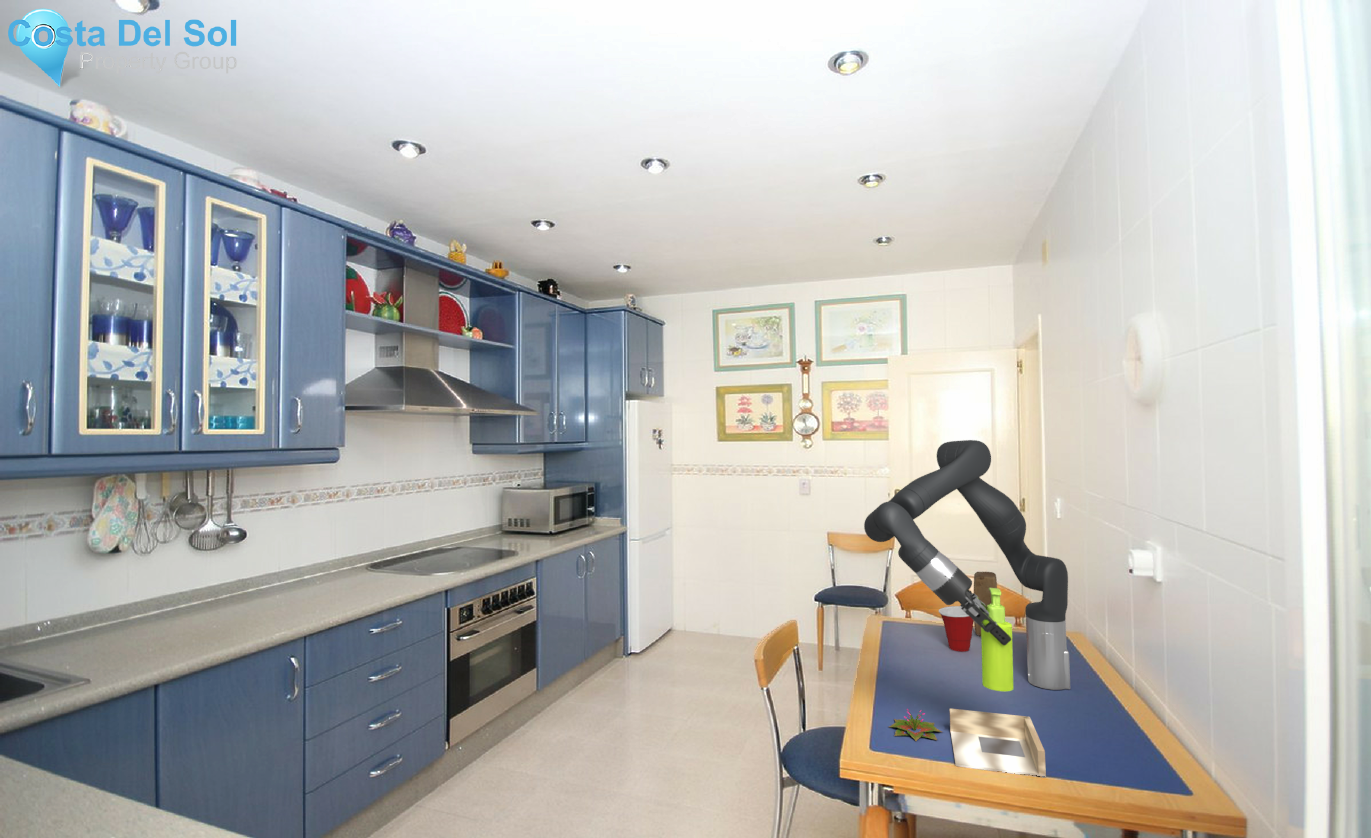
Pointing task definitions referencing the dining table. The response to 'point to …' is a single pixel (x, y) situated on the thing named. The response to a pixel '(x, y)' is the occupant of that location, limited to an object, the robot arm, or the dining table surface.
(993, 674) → the soap dispenser
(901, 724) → the lily flower
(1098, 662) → the dining table surface
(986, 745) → the corner arena
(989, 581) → the block
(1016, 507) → the robot arm
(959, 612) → the plastic cup
